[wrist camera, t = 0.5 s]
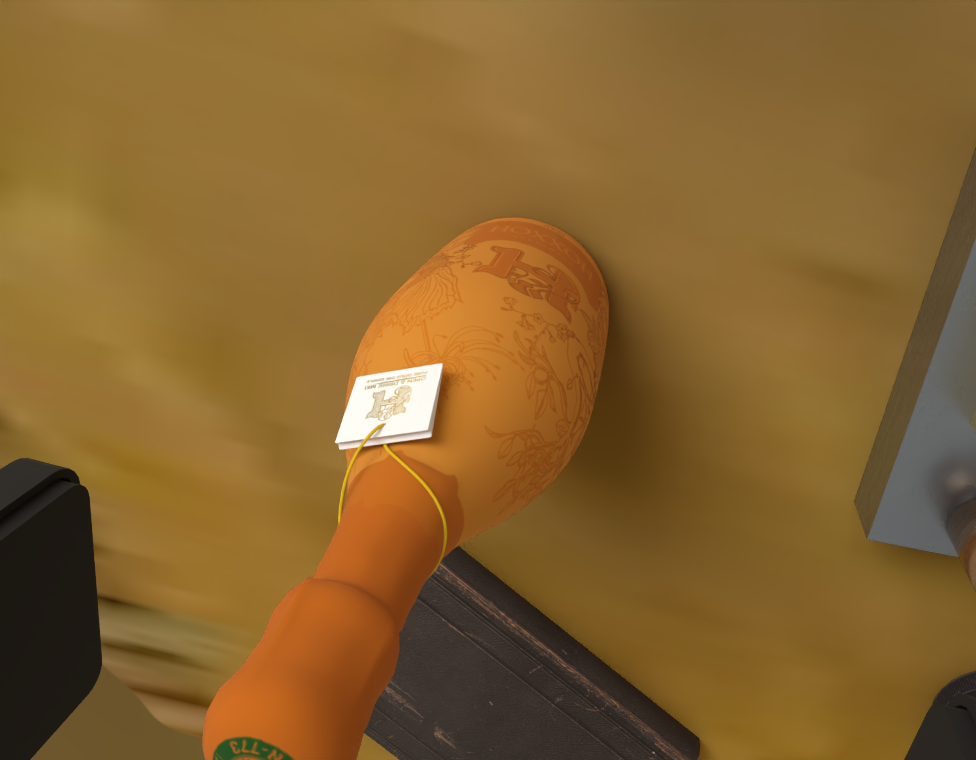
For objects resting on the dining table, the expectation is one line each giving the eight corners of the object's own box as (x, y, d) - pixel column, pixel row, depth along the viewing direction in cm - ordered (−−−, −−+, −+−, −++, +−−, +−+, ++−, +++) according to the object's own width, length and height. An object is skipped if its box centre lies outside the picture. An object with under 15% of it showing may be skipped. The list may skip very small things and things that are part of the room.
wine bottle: (649, 260, 41) (583, 740, 14) (565, 416, 46) (396, 1002, 19) (470, 174, 41) (76, 493, 15) (404, 338, 46) (11, 811, 19)
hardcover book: (542, 835, 60) (537, 864, 58) (292, 645, 58) (278, 669, 56) (700, 731, 53) (701, 761, 51) (424, 511, 51) (413, 532, 49)
